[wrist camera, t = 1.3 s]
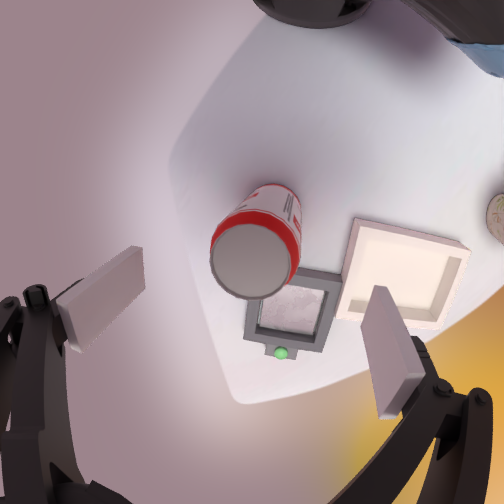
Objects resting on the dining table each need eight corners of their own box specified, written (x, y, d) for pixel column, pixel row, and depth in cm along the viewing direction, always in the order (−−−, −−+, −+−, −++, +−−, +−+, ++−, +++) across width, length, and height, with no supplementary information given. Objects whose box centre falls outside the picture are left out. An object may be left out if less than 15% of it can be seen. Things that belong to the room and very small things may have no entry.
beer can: (240, 224, 33) (190, 286, 19) (257, 174, 31) (216, 199, 16) (289, 243, 33) (278, 321, 18) (310, 194, 31) (317, 238, 16)
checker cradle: (255, 260, 35) (252, 268, 32) (341, 275, 33) (344, 284, 31) (244, 342, 40) (241, 353, 37) (317, 354, 38) (317, 366, 36)
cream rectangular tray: (354, 217, 31) (360, 225, 27) (458, 241, 29) (471, 251, 26) (332, 303, 35) (335, 318, 32) (431, 316, 33) (439, 330, 30)
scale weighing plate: (267, 276, 35) (267, 279, 34) (324, 286, 34) (324, 289, 33) (260, 322, 38) (259, 326, 37) (311, 331, 37) (312, 335, 36)
